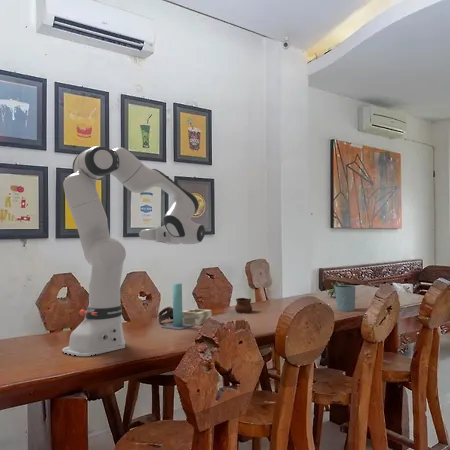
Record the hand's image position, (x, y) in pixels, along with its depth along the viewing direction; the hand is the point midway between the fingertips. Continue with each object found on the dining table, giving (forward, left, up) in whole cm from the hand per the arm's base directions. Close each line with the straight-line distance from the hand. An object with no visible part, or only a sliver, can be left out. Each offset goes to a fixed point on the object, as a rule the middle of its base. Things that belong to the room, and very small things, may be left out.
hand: (147, 234), depth 200 cm
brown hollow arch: (+9, -5, -40) cm, 41 cm away
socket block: (+15, -15, -40) cm, 45 cm away
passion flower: (+113, -47, -40) cm, 129 cm away
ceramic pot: (+47, -21, -41) cm, 65 cm away
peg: (+3, -14, -40) cm, 42 cm away
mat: (+3, -14, -40) cm, 42 cm away
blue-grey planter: (+75, -64, -40) cm, 106 cm away
